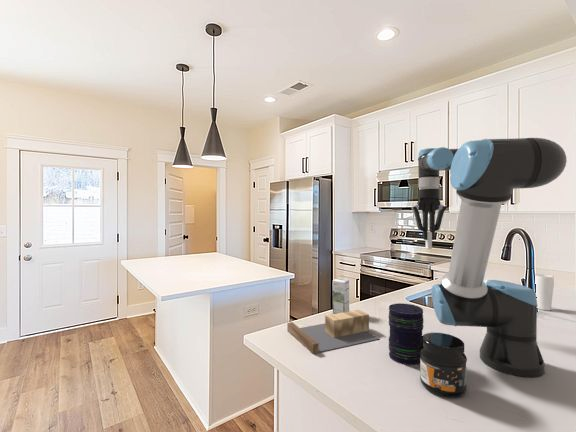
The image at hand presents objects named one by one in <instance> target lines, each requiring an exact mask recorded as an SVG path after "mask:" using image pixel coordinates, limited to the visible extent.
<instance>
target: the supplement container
mask: <svg viewBox="0 0 576 432" xmlns="http://www.w3.org/2000/svg"><path fill="white" fill-rule="evenodd" d="M422 345H423V346H421V348H420V364H419V365H420V367H419V368H420V370H419V373H420V375H419V380H420V383H421V385H422V386H423V387H424V388H425V389H426V390H428V391H429V392H431V393H433V394H435V395H438V396H441V397H445V398H457V397H461V396H463V395H464V394H466V392H467V361H468V358H467V356H466V353H465V341H463V340H462V339H460V338H458V337H457V336H454V335H452V334H448V333H444V332H428V333H427V332H426V333H424V334H422Z"/></svg>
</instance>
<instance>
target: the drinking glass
mask: <svg viewBox="0 0 576 432" xmlns="http://www.w3.org/2000/svg"><path fill="white" fill-rule="evenodd" d="M534 275H535V284H536V297H537V305H538V307H537V308H538V309H537V310H541V311H545V312H546V311H547V312H548V311H551V310H552V302H553V295H554V286H555V284H554V283H555V280H554V276H553V275H551V274H550V275H549V274H544V273H536V274H534Z"/></svg>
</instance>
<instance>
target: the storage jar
mask: <svg viewBox="0 0 576 432" xmlns="http://www.w3.org/2000/svg"><path fill="white" fill-rule="evenodd" d="M388 310H389V311H388V326H389V336H388V350H389V353H388V356H389V358H390V359H391V360H392V361H393V362H395V363H397V364H401V365H405V366H418V365H420V348H421V346H423V345H422V336H423V330H424V327H425V326H424V309H423V308H422V307H420V306H418V305H415V304H410V303H393V304H390V305H389V306H388Z"/></svg>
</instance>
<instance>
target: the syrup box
mask: <svg viewBox="0 0 576 432" xmlns="http://www.w3.org/2000/svg"><path fill="white" fill-rule="evenodd" d="M348 311H350V279H346V278H338V277H337V278H334V279H333V280H332V314H336V313H342V312H348Z"/></svg>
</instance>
